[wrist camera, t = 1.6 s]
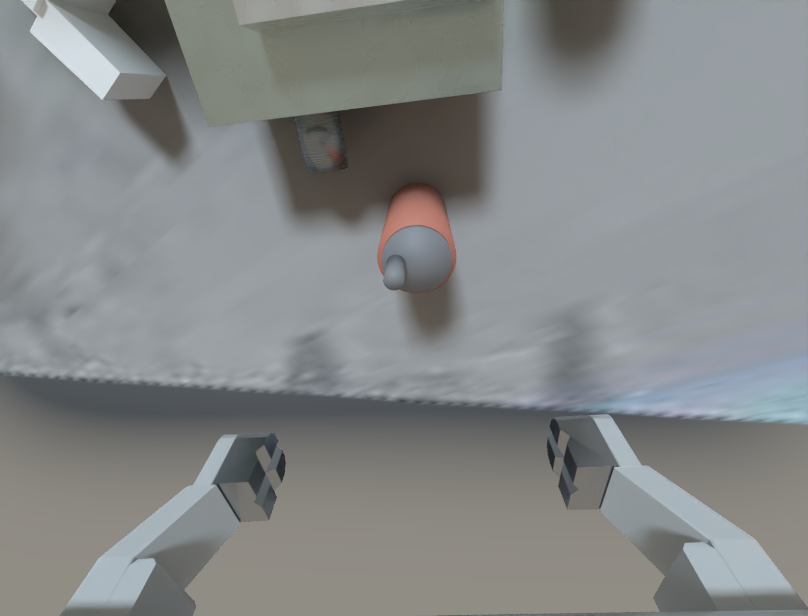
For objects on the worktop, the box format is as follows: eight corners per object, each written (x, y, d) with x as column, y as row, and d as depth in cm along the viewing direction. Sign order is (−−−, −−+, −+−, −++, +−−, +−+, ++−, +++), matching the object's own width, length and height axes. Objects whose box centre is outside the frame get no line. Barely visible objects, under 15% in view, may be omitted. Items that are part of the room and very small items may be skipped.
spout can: (444, 180, 30) (459, 232, 19) (447, 237, 32) (462, 313, 21) (384, 186, 30) (365, 241, 19) (392, 242, 33) (379, 319, 22)
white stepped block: (-54, -139, 22) (-192, -206, 17) (129, -145, 21) (43, -216, 16) (70, 135, 29) (0, 144, 24) (205, 134, 29) (162, 143, 24)
